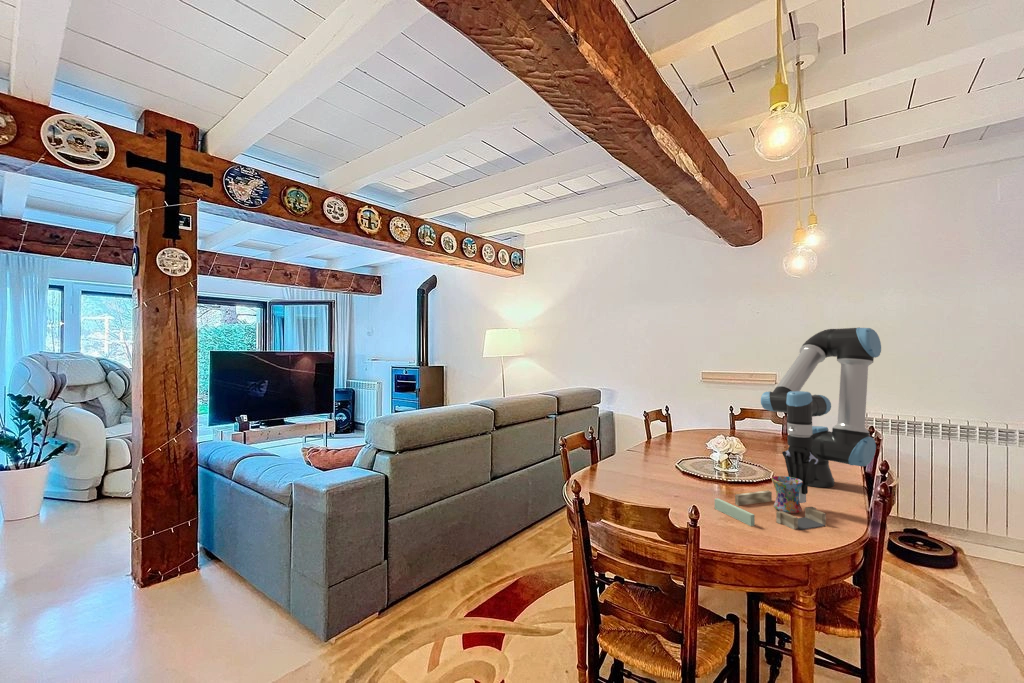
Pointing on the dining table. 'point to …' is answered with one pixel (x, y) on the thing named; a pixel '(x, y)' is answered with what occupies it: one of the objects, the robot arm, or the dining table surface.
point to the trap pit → (808, 524)
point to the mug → (787, 494)
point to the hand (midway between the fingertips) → (801, 501)
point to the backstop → (735, 512)
